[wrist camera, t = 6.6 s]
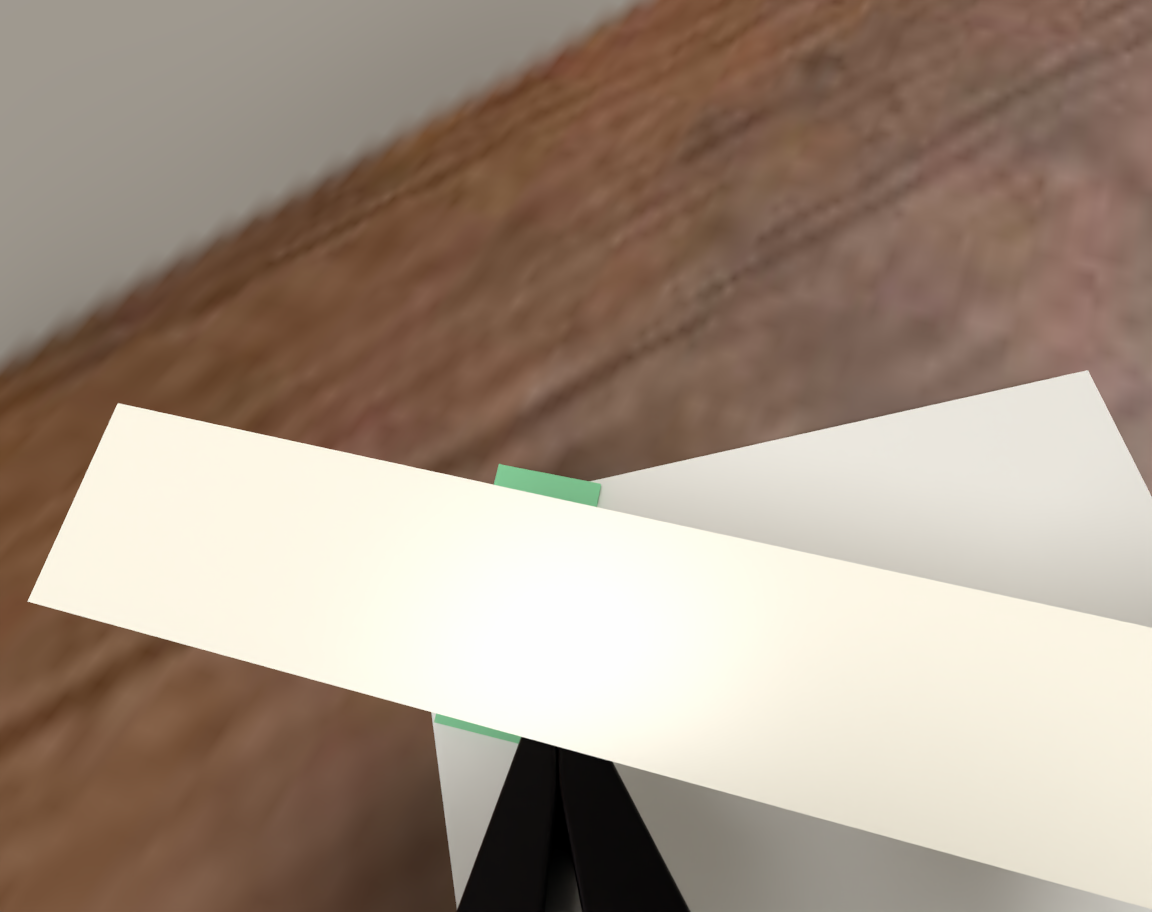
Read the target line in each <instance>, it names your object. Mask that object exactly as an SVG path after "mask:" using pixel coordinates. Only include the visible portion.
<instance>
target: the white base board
mask: <svg viewBox="0 0 1152 912" xmlns="http://www.w3.org/2000/svg"><path fill="white" fill-rule="evenodd" d="M494 485H497V486H502V487H506V488H511V489H515V490H520V491H525V492H529V493H534V494H538V495H543V496H548V497H552V498H557V499H561V500H566V501H571V502H575V503H580V504H584V505H589V506H594V507H598V508H603V509H608V510H612V511H617V512H621V513H626V514H631V515H635V516H640V517H644V518H649V519H654V520H658V521H663V522H667V523H672V524H677V525H681V526H686V527H690V528H695V529H700V530H704V531H709V532H714V533H718V534H723V535H727V536H732V537H737V538H741V539H746V540H750V541H755V542H760V543H764V544H769V545H773V546H778V547H783V548H787V549H792V550H796V551H801V552H806V553H810V554H815V555H820V556H824V557H829V558H833V559H838V560H843V561H847V562H852V563H856V564H861V565H866V566H870V567H875V568H879V569H884V570H889V571H893V572H898V573H902V574H907V575H912V576H916V577H921V578H926V579H930V580H935V581H939V582H944V583H949V584H953V585H958V586H962V587H967V588H972V589H976V590H981V591H985V592H990V593H995V594H999V595H1004V596H1008V597H1013V598H1018V599H1022V600H1027V601H1032V602H1036V603H1041V604H1045V605H1050V606H1055V607H1059V608H1064V609H1068V610H1073V611H1078V612H1082V613H1087V614H1091V615H1096V616H1101V617H1105V618H1110V619H1114V620H1119V621H1124V622H1128V623H1133V624H1138V625H1142V626H1147V627H1151V628H1152V497H1151V495H1150V493H1149V491H1148V489H1147V487H1146V485H1145V483H1144V481H1143V479H1142V477H1141V475H1140V473H1139V471H1138V469H1137V467H1136V465H1135V463H1134V461H1133V459H1132V457H1131V455H1130V453H1129V451H1128V449H1127V447H1126V445H1125V443H1124V441H1123V439H1122V437H1121V435H1120V433H1119V431H1118V429H1117V427H1116V425H1115V423H1114V421H1113V419H1112V417H1111V415H1110V413H1109V411H1108V409H1107V407H1106V405H1105V403H1104V401H1103V399H1102V397H1101V395H1100V393H1099V391H1098V389H1097V387H1096V385H1095V384H1094V382H1093V380H1092V378H1091V376H1090V374H1089V372H1088V370H1087V371H1083V372H1078V373H1074V374H1069V375H1065V376H1060V377H1056V378H1051V379H1047V380H1042V381H1038V382H1033V383H1029V384H1024V385H1020V386H1015V387H1011V388H1007V389H1002V390H998V391H993V392H989V393H984V394H980V395H975V396H971V397H966V398H962V399H957V400H953V401H948V402H944V403H939V404H935V405H930V406H926V407H921V408H917V409H912V410H908V411H903V412H899V413H895V414H890V415H886V416H881V417H877V418H872V419H868V420H863V421H859V422H854V423H850V424H845V425H841V426H836V427H832V428H827V429H823V430H818V431H814V432H809V433H805V434H800V435H796V436H792V437H787V438H783V439H778V440H774V441H769V442H765V443H760V444H756V445H751V446H747V447H742V448H738V449H733V450H729V451H724V452H720V453H715V454H711V455H706V456H702V457H697V458H693V459H688V460H684V461H680V462H675V463H671V464H666V465H662V466H657V467H653V468H648V469H644V470H639V471H635V472H630V473H626V474H621V475H617V476H612V477H608V478H603V479H599V480H594V481H590V482H589V481H584V480H578V479H573V478H568V477H563V476H558V475H553V474H547V473H542V472H537V471H532V470H527V469H521V468H516V467H511V466H506V465H501V464H499V466H498V470H497V474H496V478H495V482H494ZM431 713H432V721H433V729H434V736H435V744H436V752H437V759H438V767H439V775H440V783H441V790H442V798H443V806H444V813H445V821H446V829H447V837H448V844H449V852H450V860H451V867H452V875H453V883H454V890H455V898H456V906H457V908H458V906H459V903H460V900H461V898H462V895H463V892H464V889H465V887H466V884H467V881H468V879H469V876H470V873H471V871H472V868H473V865H474V862H475V860H476V857H477V854H478V852H479V849H480V846H481V844H482V841H483V838H484V836H485V833H486V830H487V827H488V825H489V822H490V819H491V817H492V814H493V811H494V809H495V806H496V803H497V800H498V798H499V795H500V792H501V790H502V787H503V784H504V782H505V779H506V776H507V774H508V771H509V768H510V765H511V763H512V760H513V757H514V755H515V752H516V749H517V747H518V744H519V741H520V738H521V736H517V735H514V734H510V733H506V732H503V731H499V730H495V729H492V728H488V727H484V726H481V725H477V724H474V723H470V722H466V721H463V720H459V719H455V718H452V717H448V716H444V715H441V714H437V713H433V712H431ZM613 763H614V765H615V767H616V769H617V771H618V773H619V775H620V776H621V778H622V780H623V782H624V784H625V786H626V788H627V790H628V792H629V794H630V796H631V798H632V800H633V801H634V803H635V805H636V807H637V809H638V811H639V813H640V815H641V817H642V819H643V821H644V823H645V825H646V826H647V828H648V830H649V832H650V834H651V836H652V838H653V840H654V842H655V844H656V846H657V848H658V850H659V851H660V853H661V855H662V857H663V859H664V861H665V863H666V865H667V867H668V869H669V871H670V873H671V875H672V876H673V878H674V880H675V882H676V884H677V886H678V888H679V890H680V892H681V894H682V896H683V898H684V900H685V901H686V903H687V905H688V907H689V909H690V911H691V912H1152V909H1149V908H1146V907H1142V906H1138V905H1135V904H1131V903H1127V902H1124V901H1120V900H1116V899H1113V898H1109V897H1105V896H1102V895H1098V894H1094V893H1091V892H1087V891H1083V890H1080V889H1076V888H1073V887H1069V886H1065V885H1062V884H1058V883H1054V882H1051V881H1047V880H1043V879H1040V878H1036V877H1032V876H1029V875H1025V874H1021V873H1018V872H1014V871H1010V870H1007V869H1003V868H999V867H996V866H992V865H989V864H985V863H981V862H978V861H974V860H970V859H967V858H963V857H959V856H956V855H952V854H948V853H945V852H941V851H937V850H934V849H930V848H926V847H923V846H919V845H915V844H912V843H908V842H905V841H901V840H897V839H894V838H890V837H886V836H883V835H879V834H875V833H872V832H868V831H864V830H861V829H857V828H853V827H850V826H846V825H842V824H839V823H835V822H831V821H828V820H824V819H820V818H817V817H813V816H810V815H806V814H802V813H799V812H795V811H791V810H788V809H784V808H780V807H777V806H773V805H769V804H766V803H762V802H758V801H755V800H751V799H747V798H744V797H740V796H736V795H733V794H729V793H726V792H722V791H718V790H715V789H711V788H707V787H704V786H700V785H696V784H693V783H689V782H685V781H682V780H678V779H674V778H671V777H667V776H663V775H660V774H656V773H652V772H649V771H645V770H642V769H638V768H634V767H631V766H627V765H623V764H620V763H616V762H613Z"/></svg>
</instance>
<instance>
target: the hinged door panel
mask: <svg viewBox="0 0 1152 912" xmlns="http://www.w3.org/2000/svg"><path fill="white" fill-rule="evenodd" d="M28 602H32V603H35V604H39V605H43V606H46V607H50V608H53V609H57V610H61V611H64V612H68V613H72V614H75V615H79V616H83V617H86V618H90V619H94V620H97V621H101V622H105V623H108V624H112V625H116V626H119V627H123V628H127V629H130V630H134V631H137V632H141V633H145V634H148V635H152V636H156V637H159V638H163V639H167V640H170V641H174V642H178V643H181V644H185V645H189V646H192V647H196V648H200V649H203V650H207V651H211V652H214V653H218V654H221V655H225V656H229V657H232V658H236V659H240V660H243V661H247V662H251V663H254V664H258V665H262V666H265V667H269V668H273V669H276V670H280V671H284V672H287V673H291V674H295V675H298V676H302V677H305V678H309V679H313V680H316V681H320V682H324V683H327V684H331V685H335V686H338V687H342V688H346V689H349V690H353V691H357V692H360V693H364V694H368V695H371V696H375V697H379V698H382V699H386V700H390V701H393V702H397V703H400V704H404V705H408V706H411V707H415V708H419V709H422V710H426V711H430V712H433V713H437V714H441V715H444V716H448V717H452V718H455V719H459V720H463V721H466V722H470V723H474V724H477V725H481V726H484V727H488V728H492V729H495V730H499V731H503V732H506V733H510V734H514V735H517V736H521V737H525V738H528V739H532V740H536V741H539V742H543V743H547V744H550V745H554V746H558V747H561V748H565V749H568V750H572V751H576V752H579V753H583V754H587V755H590V756H594V757H598V758H601V759H605V760H609V761H612V762H616V763H620V764H623V765H627V766H631V767H634V768H638V769H642V770H645V771H649V772H652V773H656V774H660V775H663V776H667V777H671V778H674V779H678V780H682V781H685V782H689V783H693V784H696V785H700V786H704V787H707V788H711V789H715V790H718V791H722V792H726V793H729V794H733V795H736V796H740V797H744V798H747V799H751V800H755V801H758V802H762V803H766V804H769V805H773V806H777V807H780V808H784V809H788V810H791V811H795V812H799V813H802V814H806V815H810V816H813V817H817V818H820V819H824V820H828V821H831V822H835V823H839V824H842V825H846V826H850V827H853V828H857V829H861V830H864V831H868V832H872V833H875V834H879V835H883V836H886V837H890V838H894V839H897V840H901V841H905V842H908V843H912V844H915V845H919V846H923V847H926V848H930V849H934V850H937V851H941V852H945V853H948V854H952V855H956V856H959V857H963V858H967V859H970V860H974V861H978V862H981V863H985V864H989V865H992V866H996V867H999V868H1003V869H1007V870H1010V871H1014V872H1018V873H1021V874H1025V875H1029V876H1032V877H1036V878H1040V879H1043V880H1047V881H1051V882H1054V883H1058V884H1062V885H1065V886H1069V887H1073V888H1076V889H1080V890H1083V891H1087V892H1091V893H1094V894H1098V895H1102V896H1105V897H1109V898H1113V899H1116V900H1120V901H1124V902H1127V903H1131V904H1135V905H1138V906H1142V907H1146V908H1149V909H1152V628H1151V627H1147V626H1142V625H1138V624H1133V623H1128V622H1124V621H1119V620H1114V619H1110V618H1105V617H1101V616H1096V615H1091V614H1087V613H1082V612H1078V611H1073V610H1068V609H1064V608H1059V607H1055V606H1050V605H1045V604H1041V603H1036V602H1032V601H1027V600H1022V599H1018V598H1013V597H1008V596H1004V595H999V594H995V593H990V592H985V591H981V590H976V589H972V588H967V587H962V586H958V585H953V584H949V583H944V582H939V581H935V580H930V579H926V578H921V577H916V576H912V575H907V574H902V573H898V572H893V571H889V570H884V569H879V568H875V567H870V566H866V565H861V564H856V563H852V562H847V561H843V560H838V559H833V558H829V557H824V556H820V555H815V554H810V553H806V552H801V551H796V550H792V549H787V548H783V547H778V546H773V545H769V544H764V543H760V542H755V541H750V540H746V539H741V538H737V537H732V536H727V535H723V534H718V533H714V532H709V531H704V530H700V529H695V528H690V527H686V526H681V525H677V524H672V523H667V522H663V521H658V520H654V519H649V518H644V517H640V516H635V515H631V514H626V513H621V512H617V511H612V510H608V509H603V508H598V507H594V506H589V505H584V504H580V503H575V502H571V501H566V500H561V499H557V498H552V497H548V496H543V495H538V494H534V493H529V492H525V491H520V490H515V489H511V488H506V487H502V486H497V485H492V484H488V483H483V482H478V481H474V480H469V479H465V478H460V477H455V476H451V475H446V474H442V473H437V472H432V471H428V470H423V469H419V468H414V467H409V466H405V465H400V464H396V463H391V462H386V461H382V460H377V459H372V458H368V457H363V456H359V455H354V454H349V453H345V452H340V451H336V450H331V449H326V448H322V447H317V446H313V445H308V444H303V443H299V442H294V441H290V440H285V439H280V438H276V437H271V436H266V435H262V434H257V433H253V432H248V431H243V430H239V429H234V428H230V427H225V426H220V425H216V424H211V423H207V422H202V421H197V420H193V419H188V418H184V417H179V416H174V415H170V414H165V413H160V412H156V411H151V410H147V409H142V408H137V407H133V406H128V405H124V404H119V403H118V404H117V406H116V409H115V411H114V413H113V415H112V417H111V420H110V422H109V424H108V426H107V428H106V431H105V433H104V435H103V437H102V439H101V442H100V444H99V446H98V448H97V450H96V452H95V455H94V457H93V459H92V461H91V463H90V466H89V468H88V470H87V472H86V474H85V477H84V479H83V481H82V483H81V485H80V488H79V490H78V492H77V494H76V496H75V499H74V501H73V503H72V505H71V507H70V510H69V512H68V514H67V516H66V518H65V521H64V523H63V525H62V527H61V529H60V532H59V534H58V536H57V538H56V540H55V542H54V545H53V547H52V549H51V551H50V553H49V556H48V558H47V560H46V562H45V564H44V567H43V569H42V571H41V573H40V575H39V578H38V580H37V582H36V584H35V586H34V589H33V591H32V593H31V595H30V597H29V600H28Z"/></svg>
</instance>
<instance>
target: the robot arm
mask: <svg viewBox="0 0 1152 912" xmlns="http://www.w3.org/2000/svg"><path fill="white" fill-rule="evenodd" d="M456 912H691V911H690V909H689V907H688V905H687V903H686V901H685V900H684V898H683V896H682V894H681V892H680V890H679V888H678V886H677V884H676V882H675V880H674V878H673V876H672V875H671V873H670V871H669V869H668V867H667V865H666V863H665V861H664V859H663V857H662V855H661V853H660V851H659V850H658V848H657V846H656V844H655V842H654V840H653V838H652V836H651V834H650V832H649V830H648V828H647V826H646V825H645V823H644V821H643V819H642V817H641V815H640V813H639V811H638V809H637V807H636V805H635V803H634V801H633V800H632V798H631V796H630V794H629V792H628V790H627V788H626V786H625V784H624V782H623V780H622V778H621V776H620V775H619V773H618V771H617V769H616V767H615V765H614V763H613V762H612V761H609V760H605V759H601V758H598V757H594V756H590V755H587V754H583V753H579V752H576V751H572V750H568V749H565V748H561V747H558V746H554V745H550V744H547V743H543V742H539V741H536V740H532V739H528V738H525V737H521V738H520V741H519V744H518V747H517V749H516V752H515V755H514V757H513V760H512V763H511V765H510V768H509V771H508V774H507V776H506V779H505V782H504V784H503V787H502V790H501V792H500V795H499V798H498V800H497V803H496V806H495V809H494V811H493V814H492V817H491V819H490V822H489V825H488V827H487V830H486V833H485V836H484V838H483V841H482V844H481V846H480V849H479V852H478V854H477V857H476V860H475V862H474V865H473V868H472V871H471V873H470V876H469V879H468V881H467V884H466V887H465V889H464V892H463V895H462V898H461V900H460V903H459V906H458V908H457V911H456Z"/></svg>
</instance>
